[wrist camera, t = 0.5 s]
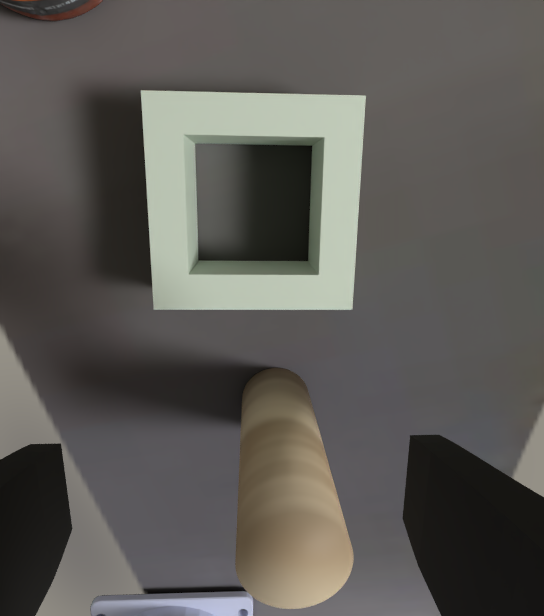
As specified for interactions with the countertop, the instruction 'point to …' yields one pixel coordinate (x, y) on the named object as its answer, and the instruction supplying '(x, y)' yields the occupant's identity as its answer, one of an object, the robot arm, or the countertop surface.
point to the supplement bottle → (51, 8)
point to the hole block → (256, 131)
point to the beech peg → (287, 499)
